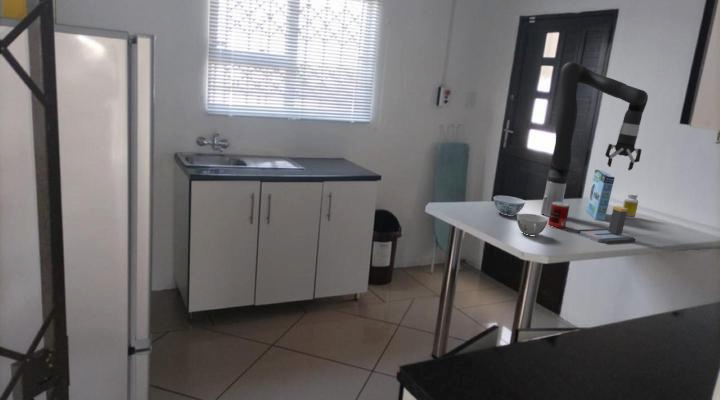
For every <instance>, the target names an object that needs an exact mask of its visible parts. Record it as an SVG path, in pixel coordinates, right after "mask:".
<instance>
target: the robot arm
mask: <svg viewBox="0 0 720 400" xmlns="http://www.w3.org/2000/svg"><path fill="white" fill-rule="evenodd" d="M578 83H579V84H583V85H587V86H589V87H592V88H594V89H595V90H598V91H599V92H601V93H604V94H606V95H609V96H611V97H612V98H616V99H619V100H622V101H623V102H626V103H628V104H629V105H628V107H627V110H626V112H625V113H624V116H623V120H622V124H621V126H620V129H619V133H618V137H617V142H616V144H615V145H614V144H612V143H608V145H607V149H606V152H605V157H607V158H608V161H607V163H606V164H607V166H608V168H611V166H612V162H613V158H615V157H616V156H618V155H619V156H624V157H628V158H629V160H630V161H629V164H628V168H627V169H628V171H631V170H633V169H634V164H635V163H639V162H640V159H641V156H642V155H641V154H642V149H641V148H636V147H635V146H636V144H637V143H636V142H637V138H638V135H639V131H640V125H641V122H642V117H643V114H644V111H645V109H646V106H647V103H648V100H649V99H648V98H649V96H648V95H649V94H648V93H647V91H646V90H642V89H640V88H637V87H634V86H631V85H628V84H626V83H624V82H622V81H619V80H616V79H614V78H610V77H609V76H604V75H602V74H599V73H597V72H594V71H591V70H590V69H588V68H587V67H586V66H584V65H582V64H581V63H579V62H577V61H576V62H574V61H568V62H566V63H565V64H564V65H563V66H562V67H561V71H560V89H559V97H558V102H557V103H558V105H557V111H556V117H555V118H556V119H555V143H554V149H553V153H552V155H551V157H550V162H549V163H550V164H549V169H548V173H547V179H546V183H545V184H546V186H545V190H544V194H543V199H542V204H541V210H540V215H542V214H544V215H543V216H546V217H550V211H551V206H552V202H563V203H564V197H565V193H566V189H567V183H568V177H569V171H570V167H571V164H572V141H573V137H574V134H575V130H576V124H577V118H578V110H579V109H578V108H579V107H578V100H577V88H578ZM613 149H615V151H614V152H612V154H610V153H611V150H613ZM634 152H635V153H636V156H635V158H634V157H633V155H632V153H634Z"/></svg>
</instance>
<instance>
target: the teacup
mask: <svg viewBox="0 0 720 400" xmlns="http://www.w3.org/2000/svg"><path fill="white" fill-rule="evenodd" d="M516 218H517V219H516V220H517V225H518V228H519V230H520V232H521V233H522V232H523V233H525V234H528V235H537V236H538V235H539V234H540V235H541V233H542V232H543V231H544V230H545V228H546V226H547V224H548V222H549V218H547V217H545V216H543V215H542V216H541V214H533V213H517V215H516ZM523 233H522V234H523Z"/></svg>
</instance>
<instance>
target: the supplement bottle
mask: <svg viewBox="0 0 720 400" xmlns="http://www.w3.org/2000/svg"><path fill="white" fill-rule="evenodd" d="M638 196H639V195H638V194H637V193H630V192H628V193H627V197H625V198H624V200H623V205H622V207H624V208H627V209H628V211H627V214H626V218H625V219H628V220H634V219H635V218H636V213H637V210H638V204H639V200H638V199H637V198H638Z"/></svg>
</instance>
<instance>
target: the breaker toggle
mask: <svg viewBox="0 0 720 400" xmlns="http://www.w3.org/2000/svg"><path fill="white" fill-rule="evenodd" d="M627 211H628V209H627V208H624V207H623V206H618V205H617V206H613V207H612V212H611V218H610V221H609V226H608V229H609V230H608V232H611V233H614V234H622V233H623V231H624V227H625V223H626V219H627V218H626V214H627Z"/></svg>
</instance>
